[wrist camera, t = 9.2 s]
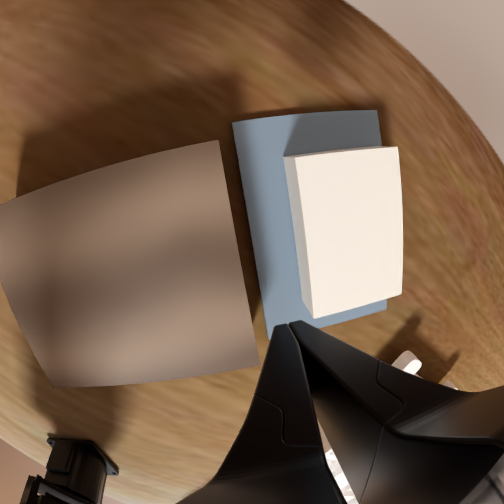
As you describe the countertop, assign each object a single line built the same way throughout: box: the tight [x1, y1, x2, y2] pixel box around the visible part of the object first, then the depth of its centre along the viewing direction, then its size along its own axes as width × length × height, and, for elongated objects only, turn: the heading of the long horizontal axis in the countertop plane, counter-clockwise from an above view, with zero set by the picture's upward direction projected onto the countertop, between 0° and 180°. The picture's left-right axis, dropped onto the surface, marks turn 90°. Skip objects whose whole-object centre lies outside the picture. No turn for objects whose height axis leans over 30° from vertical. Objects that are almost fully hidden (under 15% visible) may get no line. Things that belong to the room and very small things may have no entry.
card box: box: [283, 146, 403, 319], centre depth 17 cm, size 9×6×3 cm, turn 9°
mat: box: [232, 110, 387, 340], centre depth 18 cm, size 14×9×1 cm, turn 9°
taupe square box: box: [0, 140, 260, 388], centre depth 16 cm, size 12×14×4 cm
